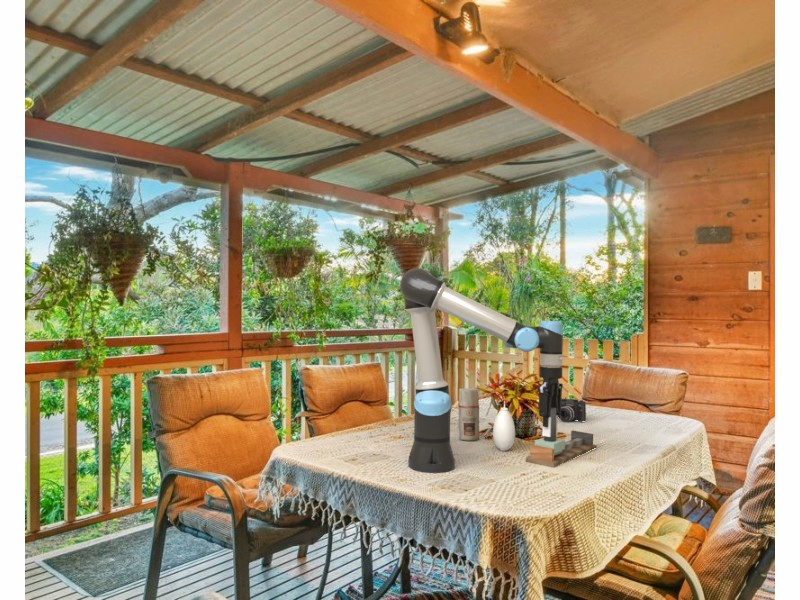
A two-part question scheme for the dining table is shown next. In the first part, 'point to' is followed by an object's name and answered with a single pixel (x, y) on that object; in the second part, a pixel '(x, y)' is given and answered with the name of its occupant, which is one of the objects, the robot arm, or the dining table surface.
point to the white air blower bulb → (504, 430)
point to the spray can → (468, 414)
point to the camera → (572, 410)
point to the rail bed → (563, 456)
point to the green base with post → (552, 436)
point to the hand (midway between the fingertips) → (549, 434)
